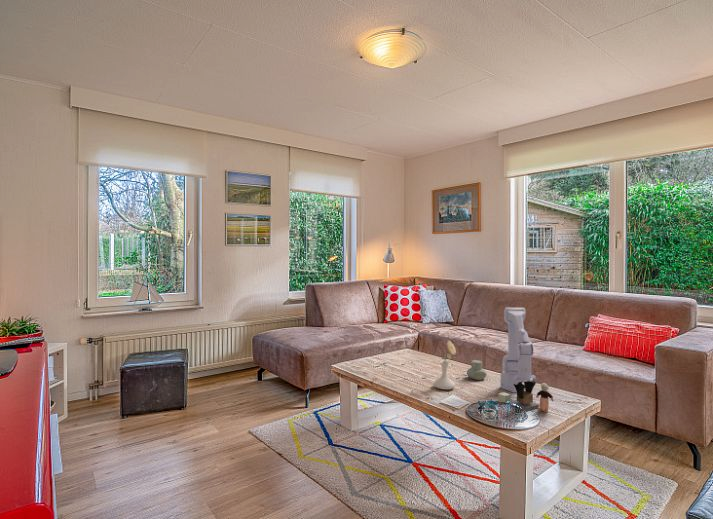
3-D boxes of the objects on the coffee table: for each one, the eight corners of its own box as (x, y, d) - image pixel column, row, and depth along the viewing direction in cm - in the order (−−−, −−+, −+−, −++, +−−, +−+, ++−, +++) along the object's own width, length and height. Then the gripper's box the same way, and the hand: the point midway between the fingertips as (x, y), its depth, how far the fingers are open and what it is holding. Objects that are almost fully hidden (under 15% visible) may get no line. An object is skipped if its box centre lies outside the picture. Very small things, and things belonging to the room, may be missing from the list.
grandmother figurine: (534, 410, 184) (535, 382, 184) (536, 407, 187) (536, 380, 187) (553, 414, 179) (553, 386, 179) (554, 411, 183) (554, 383, 183)
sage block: (498, 401, 195) (498, 393, 195) (503, 400, 197) (503, 392, 197) (504, 404, 192) (505, 395, 192) (510, 402, 194) (510, 394, 194)
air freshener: (471, 381, 226) (471, 363, 226) (464, 377, 234) (464, 359, 234) (488, 380, 228) (489, 362, 228) (481, 376, 236) (481, 359, 236)
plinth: (509, 405, 190) (509, 401, 190) (522, 401, 195) (522, 398, 195) (526, 411, 183) (526, 408, 183) (538, 407, 187) (538, 404, 187)
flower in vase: (444, 392, 207) (444, 344, 206) (428, 386, 216) (429, 340, 216) (461, 388, 214) (462, 341, 214) (446, 382, 223) (446, 337, 223)
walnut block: (516, 400, 190) (516, 392, 190) (523, 398, 192) (523, 390, 192) (525, 404, 185) (525, 395, 185) (532, 402, 188) (532, 393, 188)
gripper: (522, 372, 182) (521, 402, 182) (541, 368, 189) (541, 397, 189) (508, 368, 188) (508, 397, 188) (528, 364, 195) (528, 392, 195)
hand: (524, 397), depth 189 cm, fingers closed on walnut block, 5 cm apart
